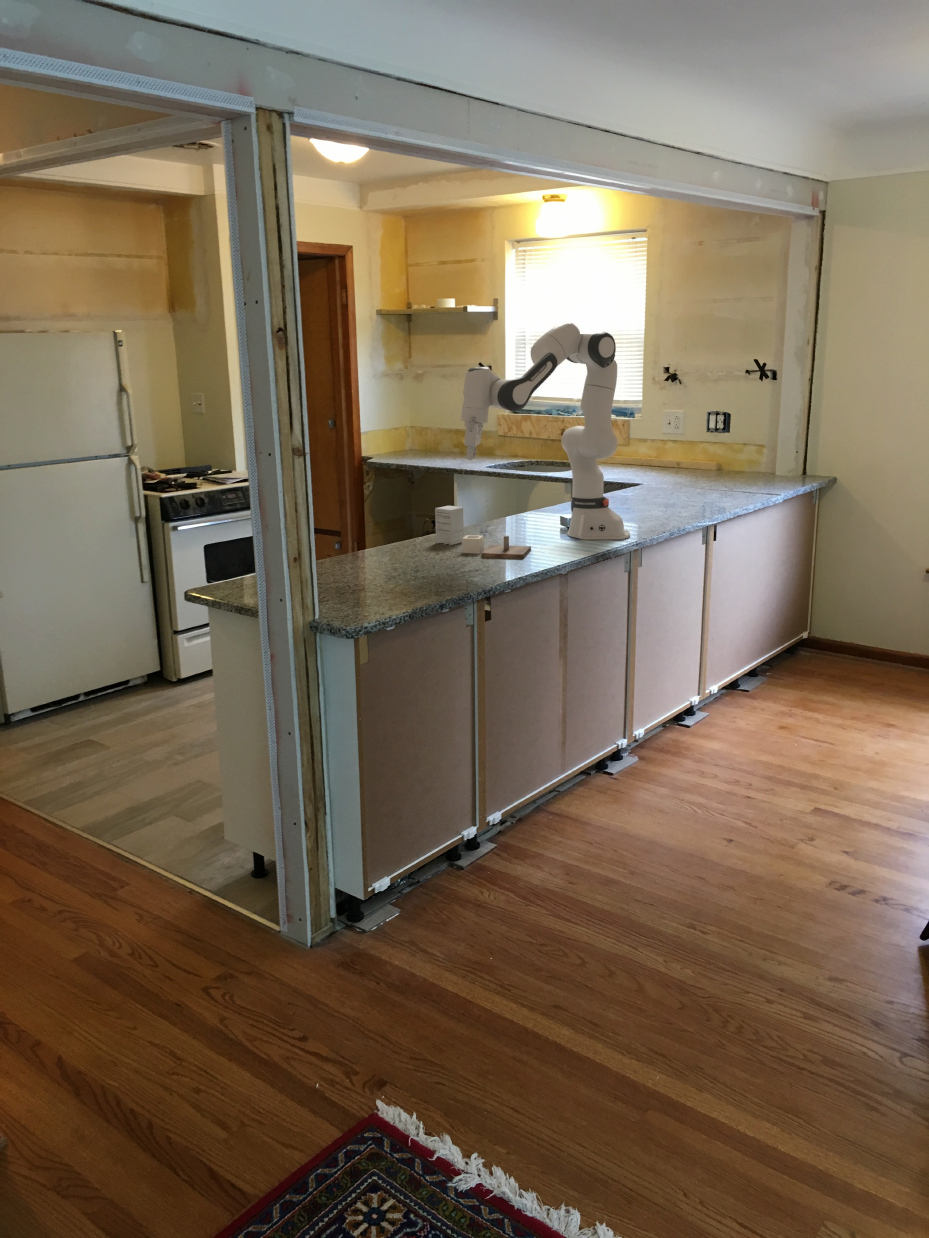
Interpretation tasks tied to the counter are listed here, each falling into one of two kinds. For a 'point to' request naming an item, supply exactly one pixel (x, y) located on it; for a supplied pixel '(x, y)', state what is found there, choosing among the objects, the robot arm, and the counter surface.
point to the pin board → (506, 551)
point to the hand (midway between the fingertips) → (471, 459)
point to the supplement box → (449, 524)
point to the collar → (472, 544)
